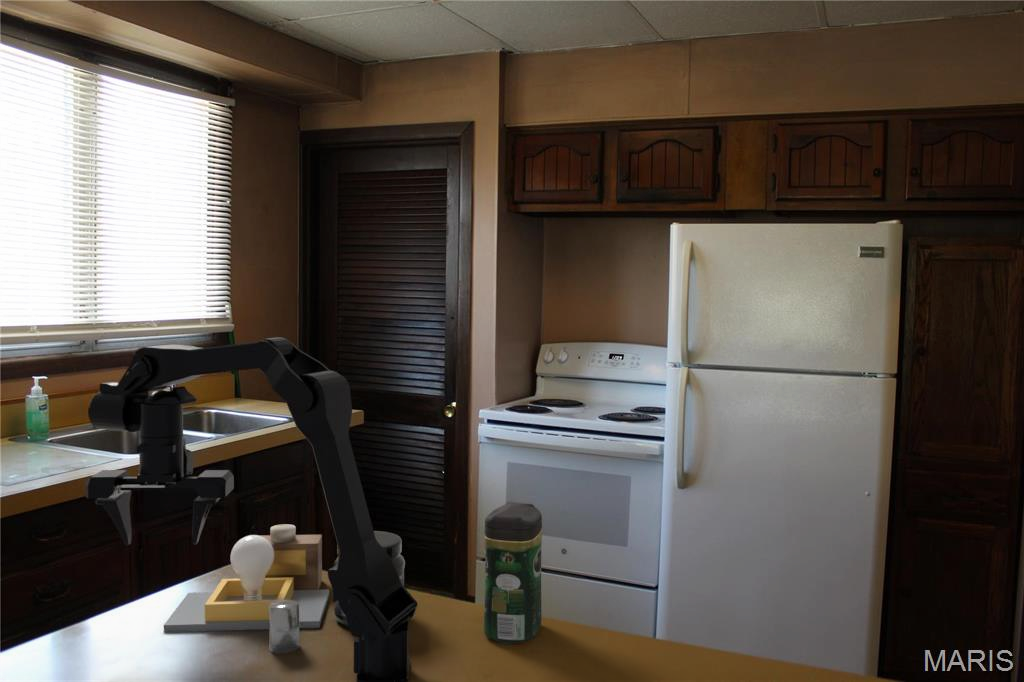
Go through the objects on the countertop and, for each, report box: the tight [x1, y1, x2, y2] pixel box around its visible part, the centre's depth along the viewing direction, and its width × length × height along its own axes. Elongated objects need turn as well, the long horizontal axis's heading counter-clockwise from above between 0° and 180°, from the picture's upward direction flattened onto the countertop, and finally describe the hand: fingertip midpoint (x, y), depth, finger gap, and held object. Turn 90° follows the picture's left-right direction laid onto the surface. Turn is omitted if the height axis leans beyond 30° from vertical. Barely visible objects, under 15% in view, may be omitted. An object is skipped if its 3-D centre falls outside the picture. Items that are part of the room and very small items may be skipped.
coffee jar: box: [483, 501, 543, 645], centre depth 124 cm, size 10×8×19 cm
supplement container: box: [333, 530, 406, 628], centre depth 129 cm, size 10×10×12 cm
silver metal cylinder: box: [268, 600, 300, 655], centre depth 118 cm, size 4×4×6 cm
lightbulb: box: [230, 534, 274, 601], centre depth 130 cm, size 6×6×11 cm
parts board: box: [163, 577, 330, 633], centre depth 130 cm, size 22×13×4 cm, turn 96°
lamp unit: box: [261, 523, 323, 590], centre depth 141 cm, size 12×5×10 cm, turn 96°
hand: (162, 543), depth 121 cm, fingers open, 9 cm apart
